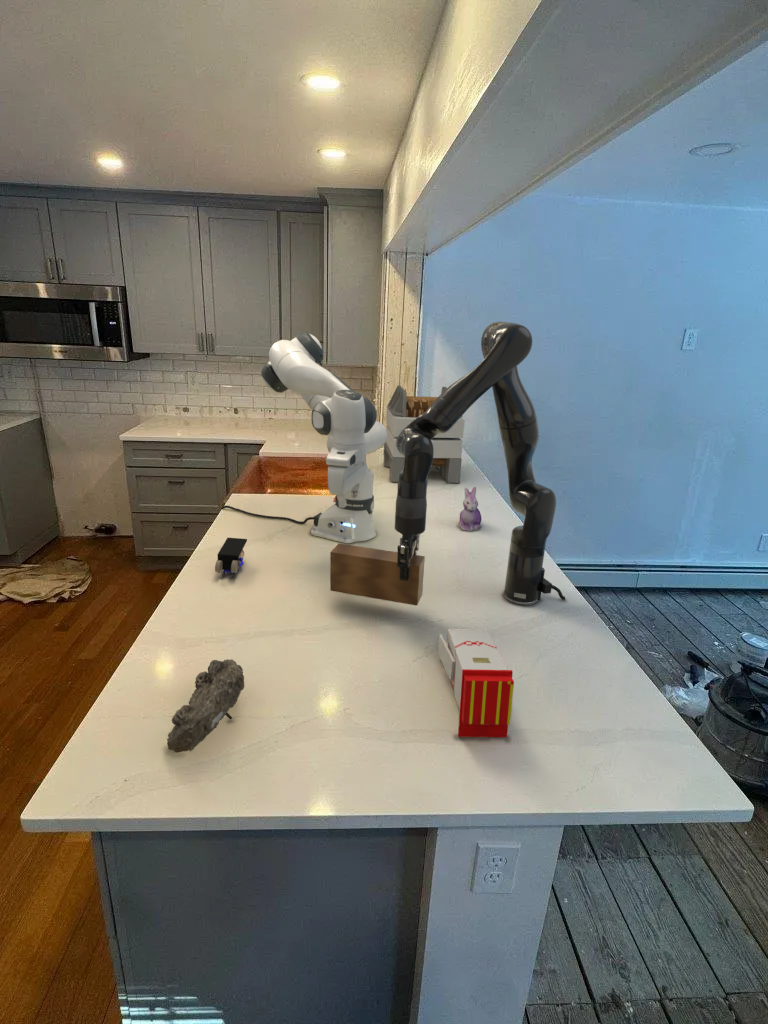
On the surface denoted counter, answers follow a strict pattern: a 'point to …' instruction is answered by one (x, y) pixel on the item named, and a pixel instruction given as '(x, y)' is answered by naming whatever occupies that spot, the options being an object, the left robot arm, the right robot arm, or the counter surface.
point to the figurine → (470, 512)
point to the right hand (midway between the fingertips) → (407, 574)
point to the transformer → (444, 444)
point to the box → (375, 574)
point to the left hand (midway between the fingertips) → (348, 501)
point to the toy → (478, 682)
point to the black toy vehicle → (230, 556)
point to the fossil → (206, 705)
